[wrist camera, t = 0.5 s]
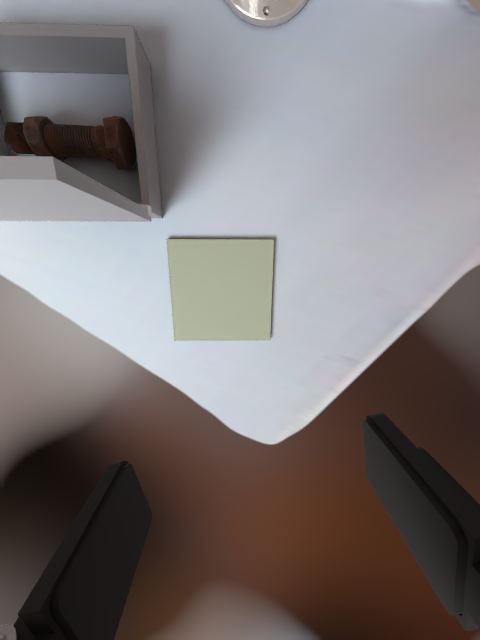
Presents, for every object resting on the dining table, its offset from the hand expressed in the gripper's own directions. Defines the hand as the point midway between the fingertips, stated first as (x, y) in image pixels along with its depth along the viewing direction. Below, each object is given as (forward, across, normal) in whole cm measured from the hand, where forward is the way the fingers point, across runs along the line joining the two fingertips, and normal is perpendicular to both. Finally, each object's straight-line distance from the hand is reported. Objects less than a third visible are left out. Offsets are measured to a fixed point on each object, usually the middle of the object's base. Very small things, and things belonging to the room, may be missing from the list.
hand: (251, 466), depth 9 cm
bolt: (+30, +17, -26) cm, 43 cm away
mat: (+29, +2, -3) cm, 30 cm away
